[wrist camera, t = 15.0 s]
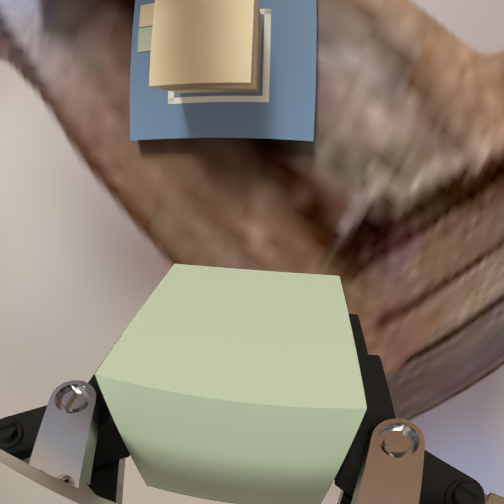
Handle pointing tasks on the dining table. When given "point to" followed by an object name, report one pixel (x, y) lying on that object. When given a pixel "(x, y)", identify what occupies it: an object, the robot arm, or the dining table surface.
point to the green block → (238, 385)
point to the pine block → (206, 46)
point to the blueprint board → (234, 103)
